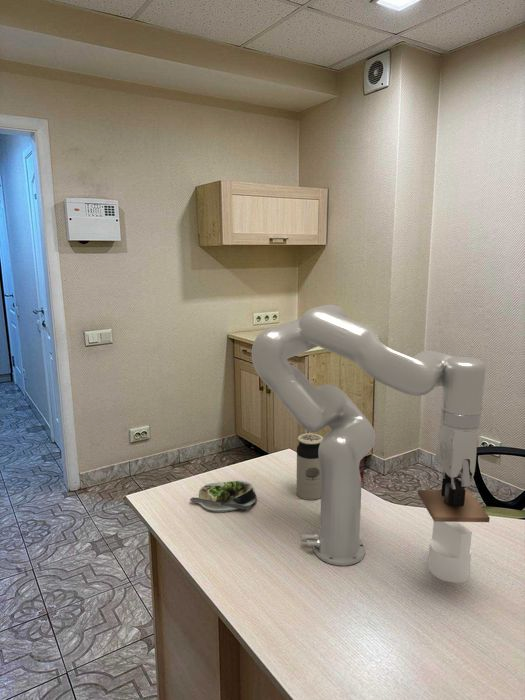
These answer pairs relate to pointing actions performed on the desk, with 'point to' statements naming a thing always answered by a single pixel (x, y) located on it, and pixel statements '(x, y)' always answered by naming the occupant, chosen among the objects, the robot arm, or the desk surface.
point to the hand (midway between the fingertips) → (452, 500)
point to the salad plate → (226, 496)
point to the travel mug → (308, 467)
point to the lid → (452, 507)
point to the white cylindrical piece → (450, 551)
